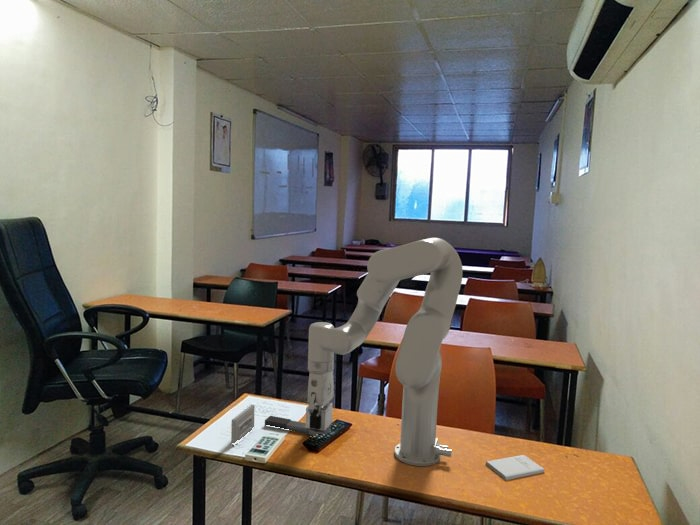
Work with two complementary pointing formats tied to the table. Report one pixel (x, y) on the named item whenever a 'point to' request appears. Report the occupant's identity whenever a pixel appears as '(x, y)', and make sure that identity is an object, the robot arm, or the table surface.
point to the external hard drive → (514, 467)
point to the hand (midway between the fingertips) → (319, 423)
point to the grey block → (325, 416)
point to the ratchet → (293, 426)
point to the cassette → (242, 424)
